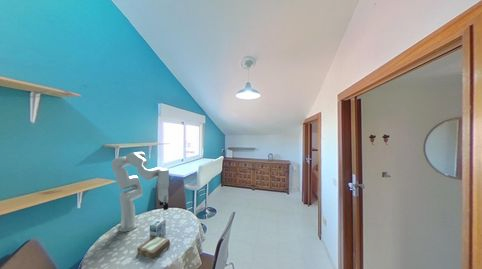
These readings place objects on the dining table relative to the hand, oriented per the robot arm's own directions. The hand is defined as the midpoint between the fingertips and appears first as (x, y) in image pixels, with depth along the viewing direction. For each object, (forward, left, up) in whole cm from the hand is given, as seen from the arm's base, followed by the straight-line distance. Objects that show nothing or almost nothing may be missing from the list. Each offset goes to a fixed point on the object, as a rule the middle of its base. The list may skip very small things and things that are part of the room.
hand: (163, 207), depth 129 cm
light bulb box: (-6, 0, -24) cm, 25 cm away
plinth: (+4, -13, -23) cm, 27 cm away
